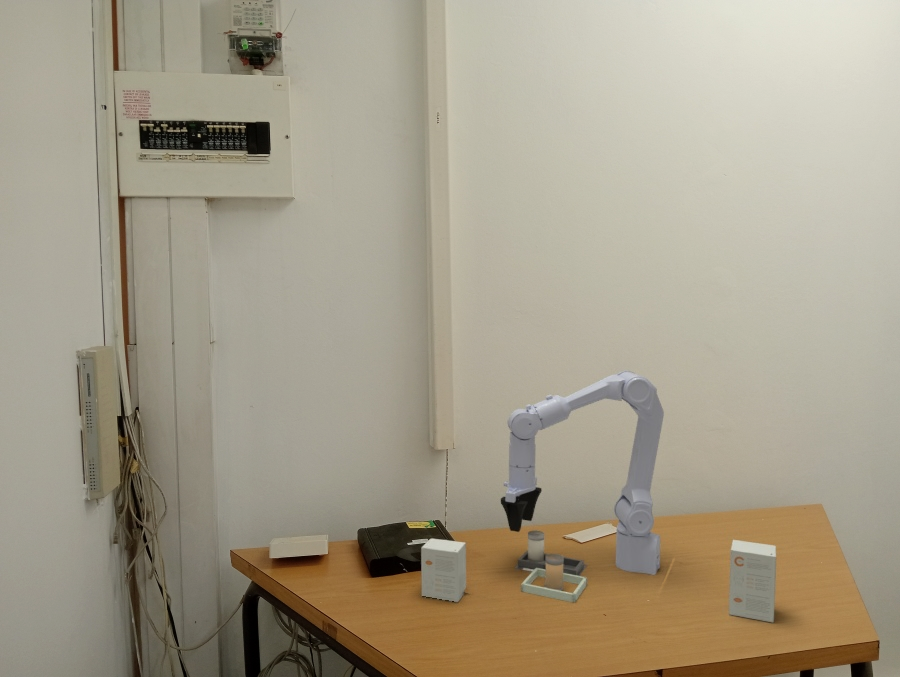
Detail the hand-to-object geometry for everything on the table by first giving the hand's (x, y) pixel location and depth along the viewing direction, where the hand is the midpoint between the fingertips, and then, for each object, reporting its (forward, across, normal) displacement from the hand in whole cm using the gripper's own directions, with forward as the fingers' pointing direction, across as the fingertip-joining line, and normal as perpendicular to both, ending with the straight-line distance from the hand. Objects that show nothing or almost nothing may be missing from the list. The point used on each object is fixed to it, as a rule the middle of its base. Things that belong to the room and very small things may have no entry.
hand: (521, 525), depth 155 cm
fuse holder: (+10, -3, +6) cm, 12 cm away
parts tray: (+10, +7, +10) cm, 16 cm away
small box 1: (+11, +18, -10) cm, 23 cm away
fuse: (+9, -3, +2) cm, 10 cm away
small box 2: (+11, -2, +47) cm, 48 cm away
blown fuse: (+10, +7, +10) cm, 16 cm away
